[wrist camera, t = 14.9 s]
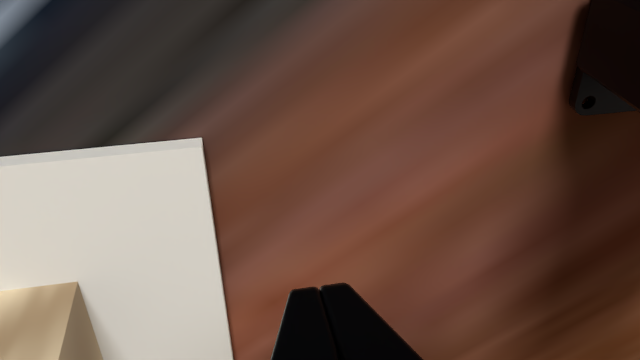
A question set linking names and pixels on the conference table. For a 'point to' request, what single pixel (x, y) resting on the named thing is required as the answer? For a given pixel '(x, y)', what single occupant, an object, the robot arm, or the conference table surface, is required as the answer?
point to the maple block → (46, 324)
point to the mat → (121, 244)
